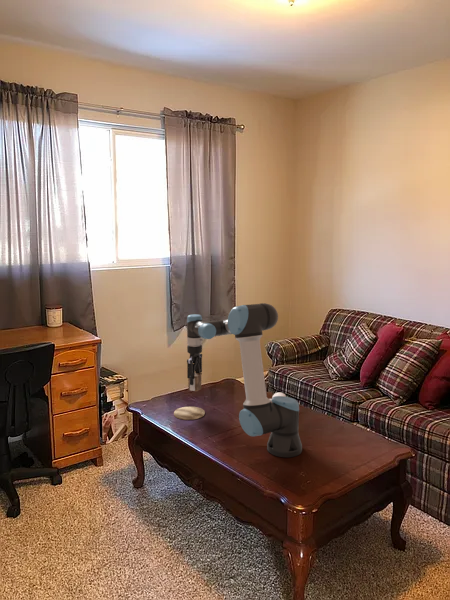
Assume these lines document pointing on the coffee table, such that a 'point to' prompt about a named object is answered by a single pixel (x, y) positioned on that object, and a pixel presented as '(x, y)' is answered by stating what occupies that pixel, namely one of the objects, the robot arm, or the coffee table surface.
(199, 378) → the block
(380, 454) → the coffee table surface
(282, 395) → the mug
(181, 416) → the plate
